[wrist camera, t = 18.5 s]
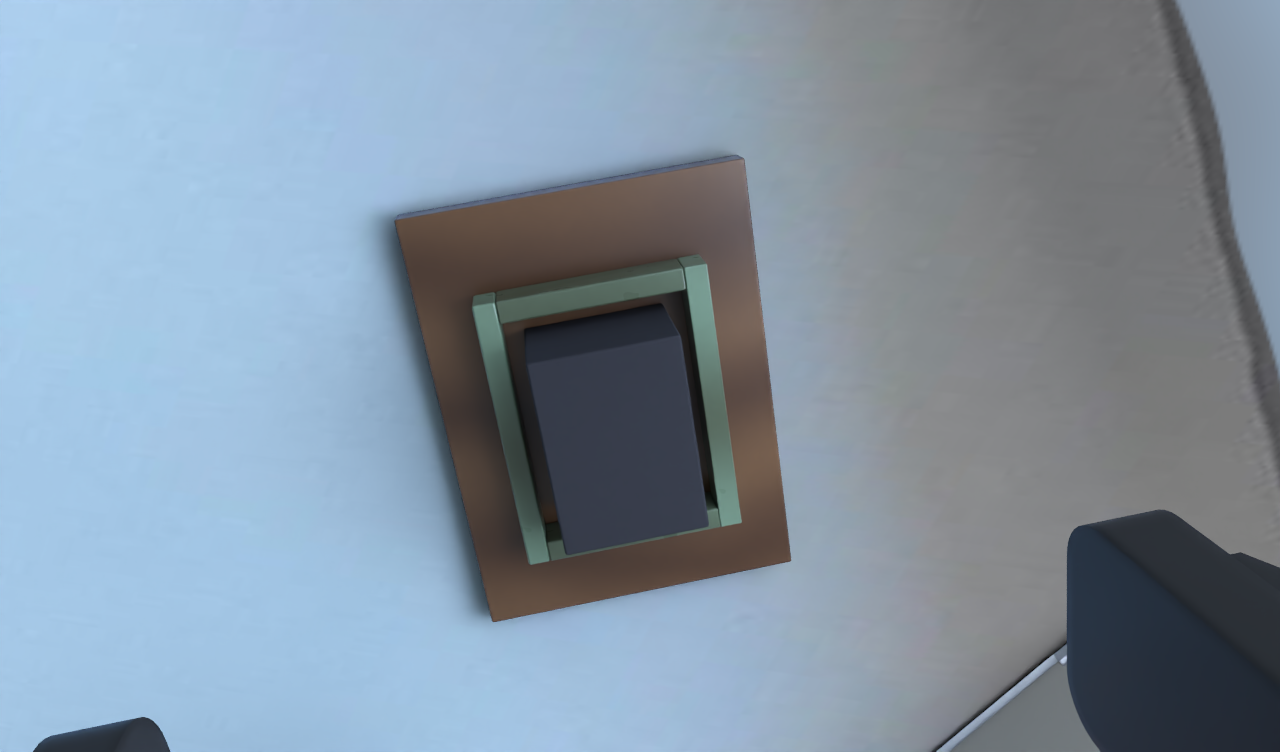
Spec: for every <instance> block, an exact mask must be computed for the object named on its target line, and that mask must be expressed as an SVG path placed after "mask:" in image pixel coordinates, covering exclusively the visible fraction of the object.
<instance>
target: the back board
mask: <svg viewBox="0 0 1280 752" xmlns="http://www.w3.org/2000/svg"><path fill="white" fill-rule="evenodd" d="M395 225H396V229H397V234H398V238H399V242H400V246H401V250H402V254H403V258H404V262H405V266H406V270H407V274H408V279H409V283H410V287H411V291H412V295H413V299H414V303H415V307H416V311H417V315H418V319H419V324H420V328H421V332H422V336H423V340H424V344H425V348H426V352H427V356H428V360H429V365H430V369H431V373H432V377H433V381H434V385H435V389H436V393H437V397H438V401H439V405H440V410H441V414H442V418H443V422H444V426H445V430H446V434H447V438H448V442H449V446H450V451H451V455H452V459H453V463H454V467H455V471H456V475H457V479H458V483H459V487H460V491H461V496H462V500H463V504H464V508H465V512H466V516H467V520H468V524H469V528H470V532H471V536H472V541H473V545H474V549H475V553H476V557H477V561H478V565H479V569H480V573H481V577H482V582H483V586H484V590H485V594H486V598H487V602H488V606H489V610H490V614H491V618H492V621H493V622H497V621H502V620H507V619H512V618H516V617H521V616H526V615H531V614H536V613H541V612H546V611H551V610H555V609H560V608H565V607H570V606H575V605H580V604H585V603H590V602H595V601H599V600H604V599H609V598H614V597H619V596H624V595H629V594H634V593H638V592H643V591H648V590H653V589H658V588H663V587H668V586H673V585H678V584H682V583H687V582H692V581H697V580H702V579H707V578H712V577H717V576H721V575H726V574H731V573H736V572H741V571H746V570H751V569H756V568H761V567H765V566H770V565H775V564H780V563H785V562H790V561H791V554H790V546H789V537H788V529H787V520H786V512H785V503H784V494H783V486H782V477H781V469H780V460H779V452H778V443H777V435H776V426H775V417H774V409H773V400H772V392H771V383H770V375H769V366H768V358H767V349H766V341H765V332H764V323H763V315H762V306H761V298H760V289H759V281H758V272H757V264H756V255H755V247H754V238H753V229H752V221H751V212H750V204H749V195H748V187H747V178H746V170H745V161H744V158H742V157H740V156H738V155H734V156H728V157H723V158H717V159H712V160H706V161H700V162H695V163H689V164H683V165H678V166H672V167H666V168H661V169H655V170H649V171H644V172H638V173H632V174H627V175H621V176H616V177H610V178H604V179H599V180H593V181H587V182H582V183H576V184H570V185H565V186H559V187H553V188H548V189H542V190H536V191H531V192H525V193H520V194H514V195H508V196H503V197H497V198H491V199H486V200H480V201H474V202H469V203H463V204H457V205H452V206H446V207H440V208H435V209H429V210H423V211H418V212H412V213H407V214H401V215H398V216H397V217H396V219H395ZM659 303H662V304H663V305H664V307H665V309H666V311H667V313H668V314H669V316H670V318H671V320H672V322H673V323H674V325H675V327H676V329H677V331H678V332H679V334H680V336H681V340H682V347H683V353H684V360H685V367H686V373H687V380H688V387H689V393H690V400H691V407H692V413H693V420H694V427H695V433H696V440H697V447H698V453H699V460H700V467H701V473H702V480H703V487H704V493H705V500H706V507H707V513H708V520H709V526H708V527H705V528H700V529H695V530H690V531H685V532H680V533H675V534H670V535H665V536H660V537H655V538H650V539H646V540H641V541H636V542H631V543H626V544H621V545H616V546H611V547H606V548H601V549H596V550H591V551H586V552H582V553H577V554H572V555H566V554H565V551H564V546H563V541H562V536H561V531H560V527H559V522H558V517H557V512H556V508H555V503H554V498H553V493H552V489H551V484H550V479H549V474H548V470H547V465H546V460H545V455H544V451H543V446H542V441H541V436H540V432H539V427H538V422H537V417H536V413H535V408H534V403H533V398H532V394H531V389H530V384H529V379H528V374H527V370H526V361H525V342H524V329H526V328H531V327H536V326H542V325H547V324H552V323H558V322H563V321H568V320H574V319H579V318H584V317H590V316H595V315H600V314H606V313H611V312H616V311H622V310H627V309H632V308H638V307H643V306H648V305H654V304H659Z"/></svg>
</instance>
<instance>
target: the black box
mask: <svg viewBox="0 0 1280 752" xmlns="http://www.w3.org/2000/svg"><path fill="white" fill-rule="evenodd" d="M524 342H525V361H526V370H527V374H528V379H529V384H530V389H531V394H532V398H533V403H534V408H535V413H536V417H537V422H538V427H539V432H540V436H541V441H542V446H543V451H544V455H545V460H546V465H547V470H548V474H549V479H550V484H551V489H552V493H553V498H554V503H555V508H556V512H557V517H558V522H559V527H560V531H561V536H562V541H563V546H564V551H565V554H566V555H572V554H577V553H582V552H586V551H591V550H596V549H601V548H606V547H611V546H616V545H621V544H626V543H631V542H636V541H641V540H646V539H650V538H655V537H660V536H665V535H670V534H675V533H680V532H685V531H690V530H695V529H700V528H705V527H708V526H709V520H708V513H707V507H706V500H705V493H704V487H703V480H702V473H701V467H700V460H699V453H698V447H697V440H696V433H695V427H694V420H693V413H692V407H691V400H690V393H689V387H688V380H687V373H686V367H685V360H684V353H683V347H682V340H681V336H680V334H679V332H678V331H677V329H676V327H675V325H674V323H673V322H672V320H671V318H670V316H669V314H668V313H667V311H666V309H665V307H664V305H663V304H662V303H659V304H654V305H648V306H643V307H638V308H632V309H627V310H622V311H616V312H611V313H606V314H600V315H595V316H590V317H584V318H579V319H574V320H568V321H563V322H558V323H552V324H547V325H542V326H536V327H531V328H526V329H524Z"/></svg>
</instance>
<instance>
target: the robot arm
mask: <svg viewBox="0 0 1280 752" xmlns="http://www.w3.org/2000/svg"><path fill="white" fill-rule="evenodd" d="M1067 677H1068V684H1069V688H1070V692H1071V696H1072V699H1073V703H1074V705H1075V708H1076V711H1077V713H1078V716H1079V718H1080V720H1081V722H1082V724H1083V726H1084V728H1085V730H1086V732H1087V733H1088V735H1089V737H1090V738H1091V740H1092V741H1093V742H1094V744H1095V745H1096V746H1097V748H1098V749H1099V750H1100V751H1101V752H1280V568H1279V567H1276V566H1274V565H1271V564H1269V563H1266V562H1264V561H1261V560H1258V559H1256V558H1253V557H1251V556H1248V555H1246V554H1243V553H1241V552H1240V553H1236V554H1231V555H1230V554H1228V553H1227V552H1226V551H1224V550H1223V549H1222V548H1220V547H1219V546H1218V545H1216V544H1215V543H1214V542H1212V541H1211V540H1209V539H1208V538H1207V537H1205V536H1204V535H1203V534H1201V533H1200V532H1199V531H1197V530H1196V529H1195V528H1193V527H1192V526H1190V525H1189V524H1188V523H1186V522H1185V521H1184V520H1182V519H1181V518H1180V517H1178V516H1177V515H1175V514H1173V513H1172V512H1169V511H1166V510H1155V511H1150V512H1145V513H1140V514H1135V515H1131V516H1126V517H1121V518H1116V519H1111V520H1106V521H1102V522H1097V523H1092V524H1087V525H1082V526H1078V527H1077V528H1075V529H1074V531H1073V532H1072V533H1071V536H1070V538H1069V542H1068V547H1067ZM33 752H170V750H169V747H168V745H167V742H166V740H165V738H164V735H163V733H162V732H161V730H160V728H159V727H158V726H157V725H156V724H155V723H154V721H152V720H150V719H149V718H145V717H141V718H136V719H131V720H126V721H121V722H116V723H111V724H107V725H102V726H97V727H92V728H87V729H82V730H77V731H73V732H68V733H63V734H58V735H53V736H50V737H48V738H46V739H44V740H43V741H42V742H41V743H39V744H38V746H37V747H36V748H35V750H34V751H33Z"/></svg>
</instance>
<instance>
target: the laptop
mask: <svg viewBox="0 0 1280 752" xmlns="http://www.w3.org/2000/svg"><path fill="white" fill-rule="evenodd" d="M936 752H1101V751H1100V750H1099V749H1098V748H1097V746H1096V745H1095V744H1094V742H1093V741H1092V740H1091V738H1090V737H1089V735H1088V733H1087V732H1086V730H1085V728H1084V726H1083V724H1082V722H1081V720H1080V718H1079V716H1078V713H1077V711H1076V708H1075V705H1074V703H1073V699H1072V696H1071V692H1070V688H1069V684H1068V677H1067V644H1066V645H1064V646H1063V647H1062V648H1061V649H1060V650H1058V651H1057V652H1056V653H1055V654H1054V655H1052V656H1050V657H1049V658H1048V659H1047V660H1046V661H1044V662H1043V663H1042V664H1041V665H1040V666H1038V667H1037V668H1036V669H1035V670H1034V671H1032V672H1031V673H1030V674H1029V675H1028V676H1026V677H1025V678H1024V679H1023V680H1022V681H1020V682H1019V683H1018V684H1017V685H1016V686H1014V687H1013V688H1012V689H1011V690H1010V691H1008V692H1007V693H1006V694H1005V695H1004V696H1002V697H1001V698H1000V699H999V700H998V701H996V702H995V703H994V704H993V705H992V706H990V707H989V708H988V709H987V710H986V711H984V712H983V713H982V714H981V715H980V716H978V717H977V718H976V719H975V720H973V721H972V722H971V723H970V724H969V725H967V726H966V727H965V728H964V729H963V730H961V731H960V732H959V733H958V734H957V735H955V736H954V737H953V738H952V739H951V740H949V741H948V742H947V743H946V744H945V745H943V746H942V747H941V748H940V749H939V750H937V751H936Z"/></svg>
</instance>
